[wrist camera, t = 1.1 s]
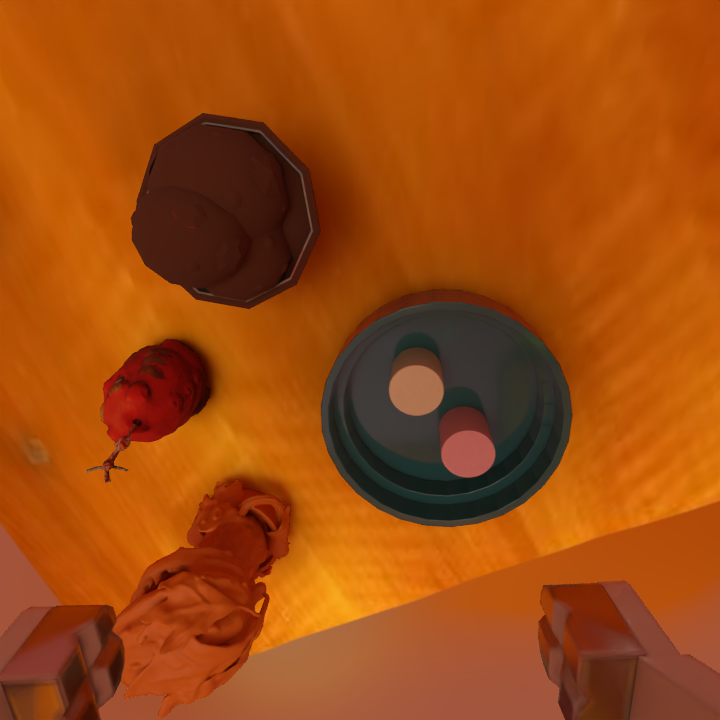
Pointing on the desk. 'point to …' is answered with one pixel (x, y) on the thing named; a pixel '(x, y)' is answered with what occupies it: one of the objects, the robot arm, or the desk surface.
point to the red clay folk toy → (152, 396)
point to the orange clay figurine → (203, 599)
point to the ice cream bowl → (226, 212)
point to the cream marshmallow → (416, 381)
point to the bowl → (446, 409)
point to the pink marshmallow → (466, 442)
